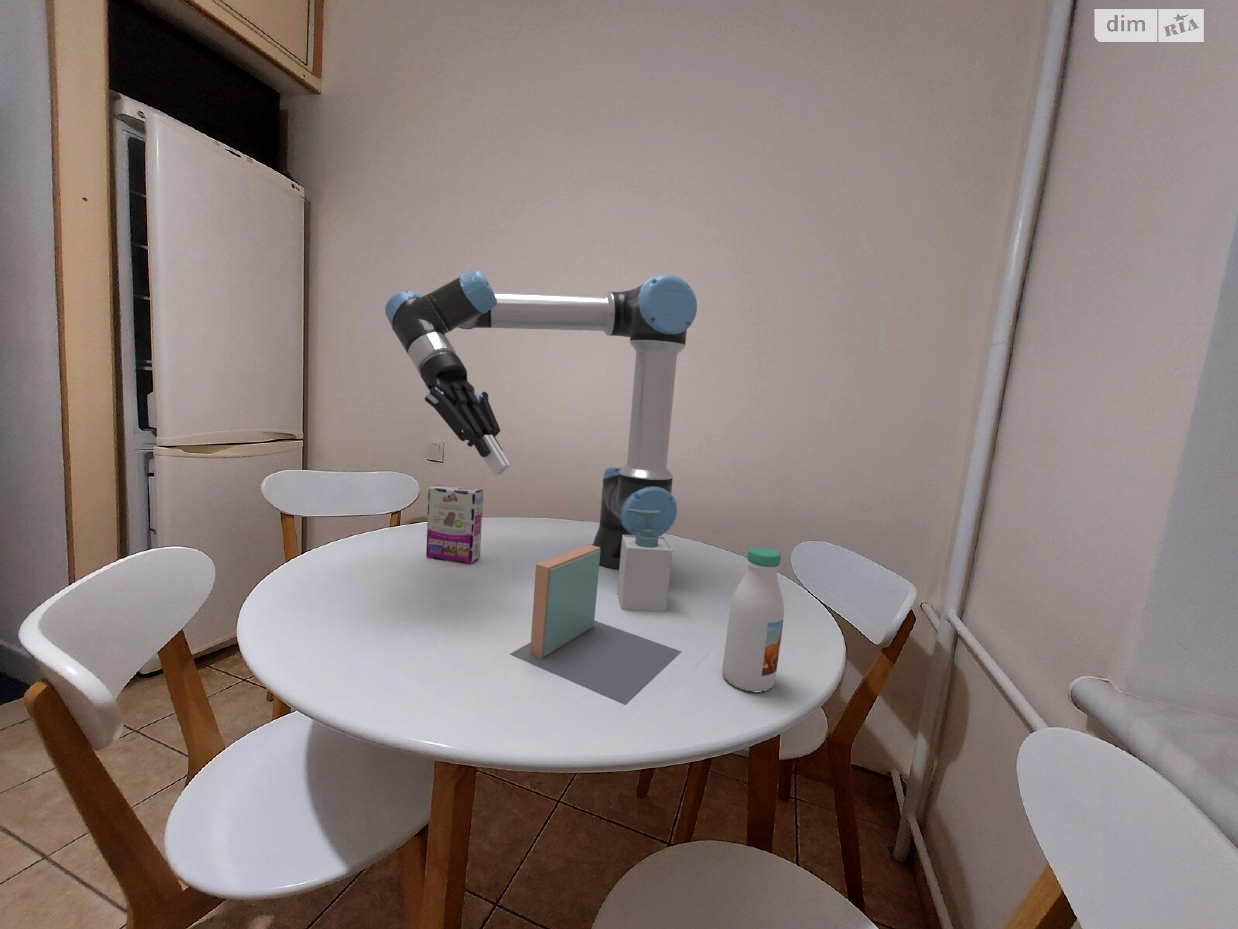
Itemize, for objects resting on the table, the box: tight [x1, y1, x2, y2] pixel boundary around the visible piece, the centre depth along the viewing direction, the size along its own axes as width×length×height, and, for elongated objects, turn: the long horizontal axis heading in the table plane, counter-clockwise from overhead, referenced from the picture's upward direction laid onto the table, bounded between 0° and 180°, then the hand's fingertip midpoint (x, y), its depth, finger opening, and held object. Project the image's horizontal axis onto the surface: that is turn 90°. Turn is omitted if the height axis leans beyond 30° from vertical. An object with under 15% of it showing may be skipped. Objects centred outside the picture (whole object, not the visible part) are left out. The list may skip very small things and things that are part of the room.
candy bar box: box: [425, 484, 484, 565], centre depth 117 cm, size 11×5×16 cm, turn 81°
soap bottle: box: [616, 509, 673, 613], centre depth 100 cm, size 9×9×19 cm
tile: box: [530, 544, 600, 659], centre depth 82 cm, size 2×14×14 cm, turn 149°
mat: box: [509, 620, 682, 706], centre depth 79 cm, size 20×18×1 cm
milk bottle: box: [721, 546, 785, 692], centre depth 76 cm, size 8×8×20 cm
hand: (502, 469), depth 87 cm, fingers closed
